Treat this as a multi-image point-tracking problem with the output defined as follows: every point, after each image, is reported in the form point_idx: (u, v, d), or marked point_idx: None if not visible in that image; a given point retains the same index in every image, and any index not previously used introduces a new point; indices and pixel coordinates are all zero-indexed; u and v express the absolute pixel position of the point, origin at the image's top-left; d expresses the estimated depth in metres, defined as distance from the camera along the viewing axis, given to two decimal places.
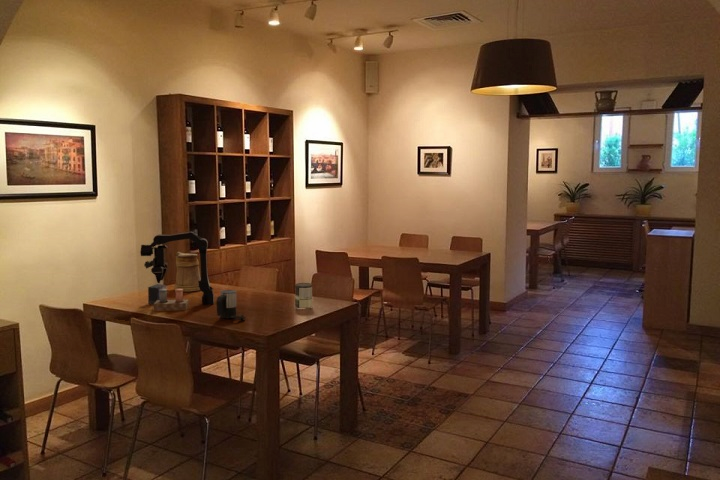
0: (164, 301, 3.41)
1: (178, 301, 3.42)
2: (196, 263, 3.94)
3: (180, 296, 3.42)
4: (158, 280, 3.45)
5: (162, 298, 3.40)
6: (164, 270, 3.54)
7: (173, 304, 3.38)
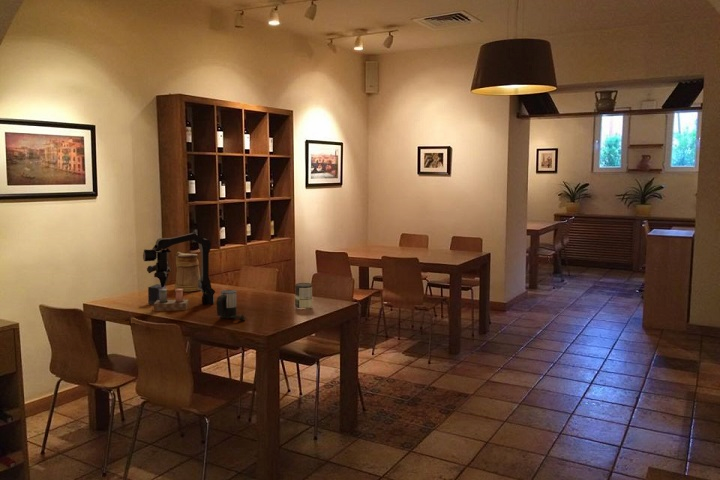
0: (164, 301, 3.41)
1: (178, 301, 3.42)
2: (196, 263, 3.94)
3: (180, 296, 3.42)
4: (162, 284, 3.39)
5: (162, 298, 3.40)
6: (166, 276, 3.43)
7: (173, 304, 3.38)
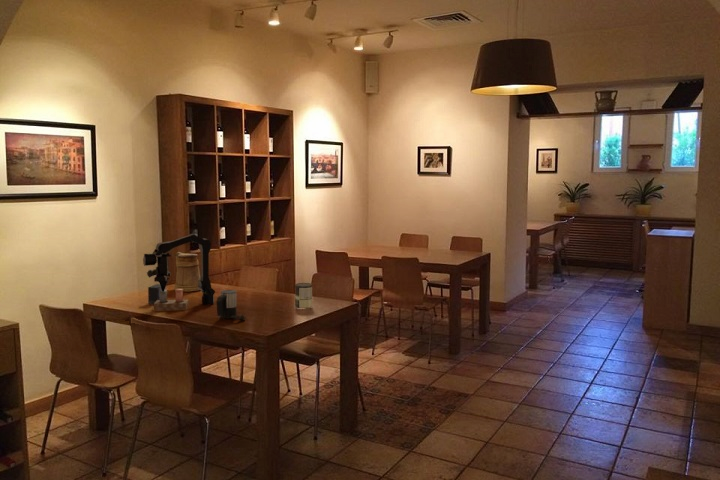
0: (164, 302, 3.41)
1: (178, 301, 3.42)
2: (196, 263, 3.94)
3: (180, 296, 3.42)
4: (162, 288, 3.40)
5: (162, 300, 3.40)
6: (166, 280, 3.42)
7: (173, 304, 3.38)
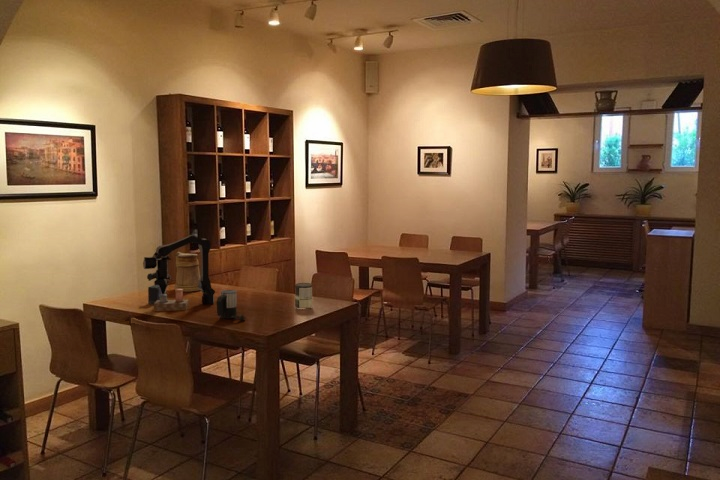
0: None
1: (178, 301, 3.42)
2: (196, 263, 3.94)
3: (180, 296, 3.42)
4: (162, 291, 3.41)
5: None
6: (166, 283, 3.42)
7: (173, 304, 3.38)
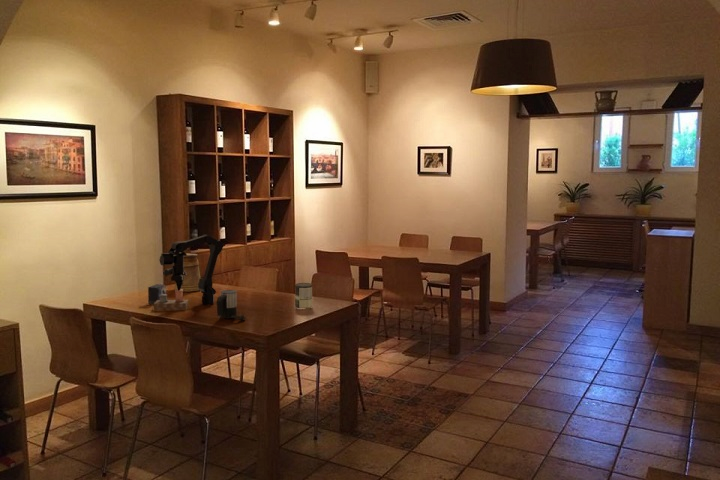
0: None
1: (178, 301, 3.42)
2: (196, 263, 3.94)
3: (180, 296, 3.42)
4: (178, 287, 3.42)
5: None
6: (182, 279, 3.43)
7: (173, 304, 3.38)
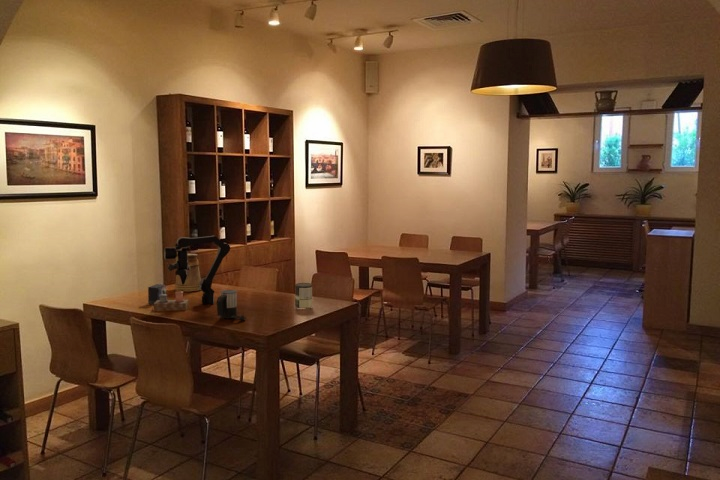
0: None
1: None
2: (196, 263, 3.94)
3: (180, 298, 3.42)
4: (183, 281, 3.48)
5: None
6: None
7: (173, 304, 3.38)
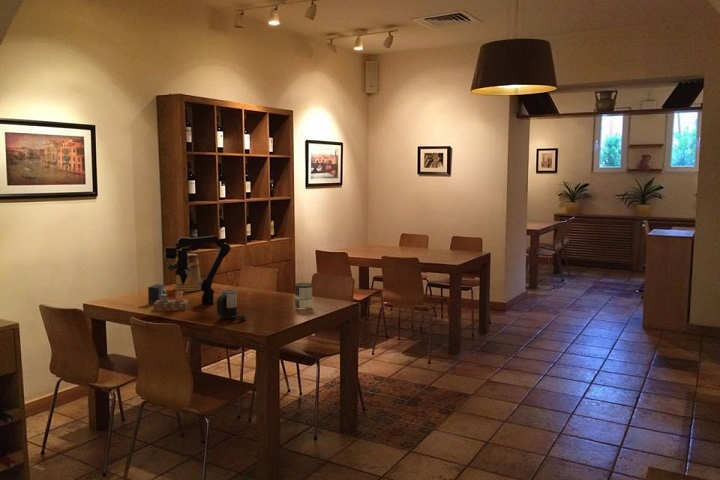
0: None
1: None
2: (196, 263, 3.94)
3: (180, 298, 3.42)
4: (183, 281, 3.49)
5: None
6: (186, 274, 3.50)
7: (173, 304, 3.38)
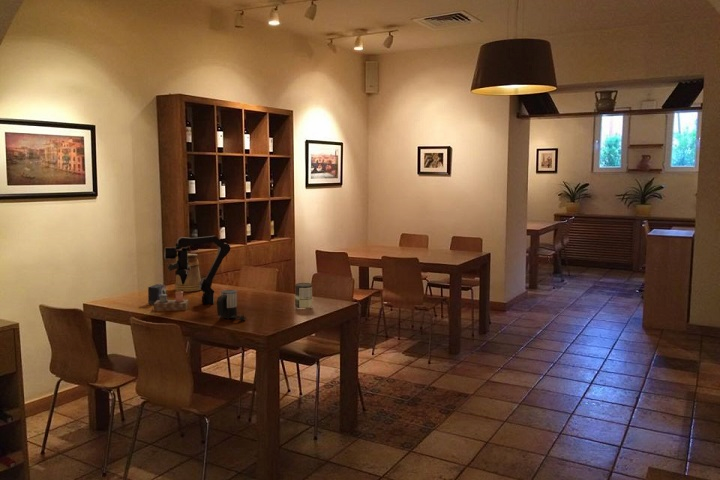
0: None
1: None
2: (196, 263, 3.94)
3: (180, 298, 3.42)
4: (183, 281, 3.49)
5: None
6: (186, 274, 3.50)
7: (173, 304, 3.38)
